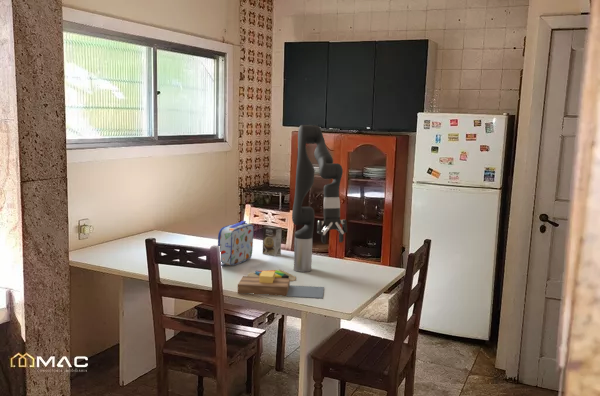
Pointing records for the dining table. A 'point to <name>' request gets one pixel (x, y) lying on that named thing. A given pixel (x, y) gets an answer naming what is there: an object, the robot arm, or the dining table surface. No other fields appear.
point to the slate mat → (305, 291)
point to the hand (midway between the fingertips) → (332, 242)
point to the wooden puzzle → (277, 274)
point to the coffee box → (272, 240)
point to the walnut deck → (264, 286)
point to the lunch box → (236, 243)
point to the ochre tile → (267, 277)
